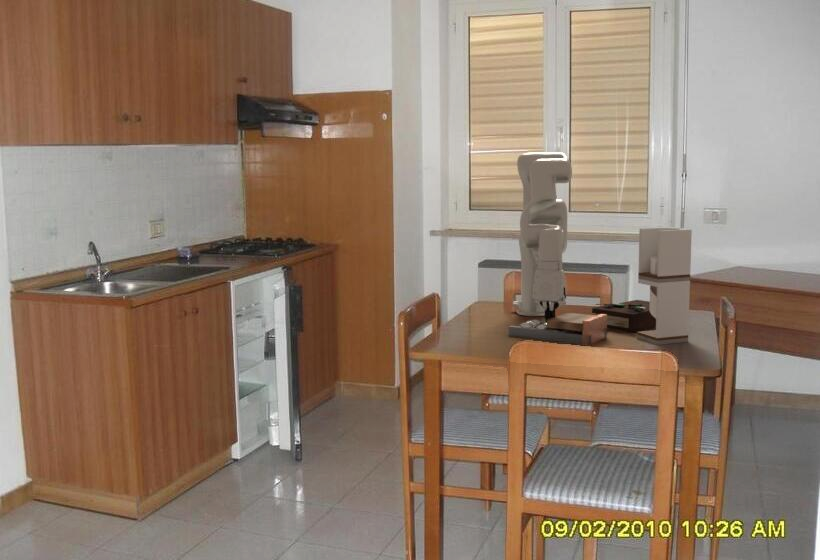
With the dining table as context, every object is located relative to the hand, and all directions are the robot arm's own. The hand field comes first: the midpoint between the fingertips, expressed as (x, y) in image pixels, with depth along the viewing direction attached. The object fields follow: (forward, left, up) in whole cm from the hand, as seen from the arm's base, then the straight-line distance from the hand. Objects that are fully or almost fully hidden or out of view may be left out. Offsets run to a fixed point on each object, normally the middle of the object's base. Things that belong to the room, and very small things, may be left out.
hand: (549, 321), depth 277 cm
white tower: (+33, +13, -5) cm, 35 cm away
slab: (+9, 0, 0) cm, 9 cm away
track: (+3, 0, -4) cm, 5 cm away
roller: (+9, 0, -5) cm, 10 cm away
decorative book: (+16, +32, -5) cm, 36 cm away
